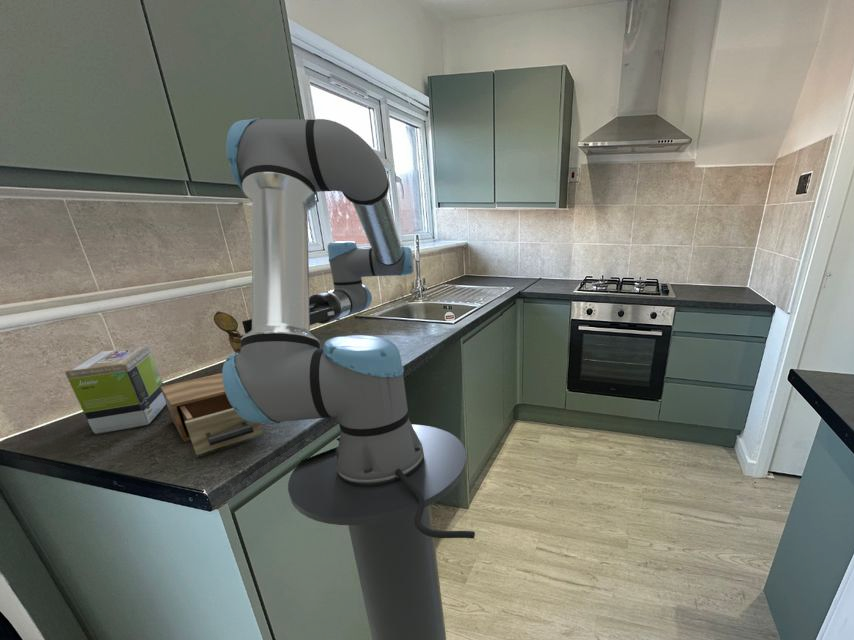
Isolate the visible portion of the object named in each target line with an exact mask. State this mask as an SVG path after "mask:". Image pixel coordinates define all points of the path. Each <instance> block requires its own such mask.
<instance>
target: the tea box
mask: <svg viewBox="0 0 854 640" xmlns="http://www.w3.org/2000/svg"><path fill="white" fill-rule="evenodd" d="M64 373H65V376H66V378H67V381H68V382H69V384H70V387H71V388H72V391H73V393H74V395H75V397H76V399H77V401H78V403H79V405H80V408H81V410H82V412H83V414H84V416H85V417H86V421H87V422H88V425H89V427H90V428H91V431H92V433H93V434H95V435H98V434H104V433H109V432H110V433H111V432H114V431H115V432H116V431H121V430H129V429H133V428H139V427H144V426H148V425H150V424H151V423H152V421H153V420H154V419H155V418H156V417H157V415H158V414H159V413H160V412H161V411H162V410H163V409H164V408H165V406H167V404H166V401H165V398H164V396H163V393H162V390H161V386H165V385H164V383H163V380H162V376H161V375H160V373H159V370H158V367H157V364H156V362H155V359H154V357H153V354H152V352H151V349H150V347H149V346H148V345H146V346H138V347H131V348H130V347H129V348H122V349H121V348H120V349H113V350H106V351H97V352H95V353H94V354H92V355H91V356H89V357H86V359H84V360H82V361H80V362H79V363H77V364H75V365H74V366H71V367H70V368H69V369H67V370H65V371H64Z"/></svg>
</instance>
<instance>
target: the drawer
mask: <svg viewBox="0 0 854 640" xmlns="http://www.w3.org/2000/svg"><path fill="white" fill-rule="evenodd" d="M178 407H179V409H180V412H181V415H182V418H183V421H184V424H185V427H186V429H187V431H188V433H189V436H190V439H191V440H190V442H191V444H192V447H193V451H194V454H195V455H196V456H198V455H202V454H205V453H208V452H211V451H215V450H218V449H220V448H223V447H227V446H231V445H233V444H237V443H238V442H243V441H246V440H249V439H251V438H255V437H258V436H262V435H263V431H262V426H261V423H252V422H249V421H246V420H244V419H243V418H241V417H240V416H239V415H238V414H237V413H236V412H235V410H234V409H233V407H232V406H231V404H230V403H229V400H228V398H227V396H226V394H224V395H220V396H216V397H212V398H208V399H204V400H200V401H196V402H192V403H188V404H184V405H180V406H178Z"/></svg>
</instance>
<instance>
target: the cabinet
mask: <svg viewBox="0 0 854 640" xmlns="http://www.w3.org/2000/svg"><path fill="white" fill-rule="evenodd" d="M161 390H162V393H163V396H164V398H165V401H166V407H167V409H168V412H169V415H170V417H171V420H172V423H173V424H174V426H175V427H176V428H175V429H176V430H177V431H178V434H179V435H180V437H181V439H182V441H183V442H184V443H186V442H191V439H190V436H189V433H188V431H187V429H186V427H185V424H184V421H183V418H182V415H181V412H180V409H179V407H178V406H180V405H184V404H188V403H192V402H196V401H200V400H204V399H208V398H212V397H216V396H220V395H224V394H226V393H225V389H224V385H223V377H222V372H221V373H216V374H212V375H207V376H203V377H198V378H194V379H189V380H184V381H180V382H175V383H170V384H167V385H164V386H161Z"/></svg>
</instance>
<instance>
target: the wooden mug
mask: <svg viewBox="0 0 854 640" xmlns="http://www.w3.org/2000/svg"><path fill="white" fill-rule="evenodd" d="M213 322H214V323H215V325H216V326H217V327H218V328H219V329H220V330H221V331H223V332H224V333H227V335H228V341H229V344H230V347H231V348H232V351H233V352H234V353H240V352H241V338H242V337H243V336H244V335H245V334H241V333H240V331H238V328H239V323H238V321H237V320H236V319H235V318H234V316H233V315H231V314H229V313H227V312H224V311H219V310H217V311H216V312H215V314H214V316H213Z"/></svg>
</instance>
